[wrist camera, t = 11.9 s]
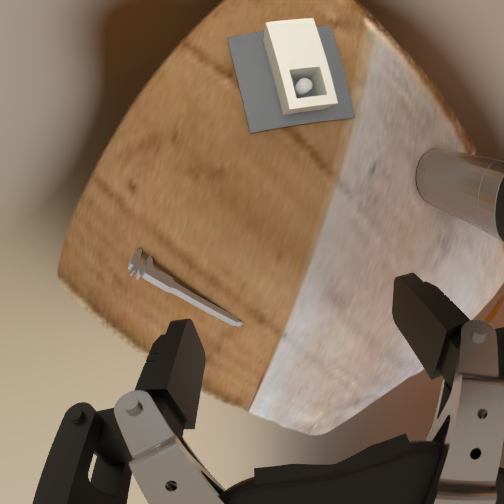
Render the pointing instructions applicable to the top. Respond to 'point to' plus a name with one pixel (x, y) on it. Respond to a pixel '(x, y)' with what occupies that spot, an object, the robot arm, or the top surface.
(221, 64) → the top surface
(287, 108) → the socket block
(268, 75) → the pin plate
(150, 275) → the caliper
